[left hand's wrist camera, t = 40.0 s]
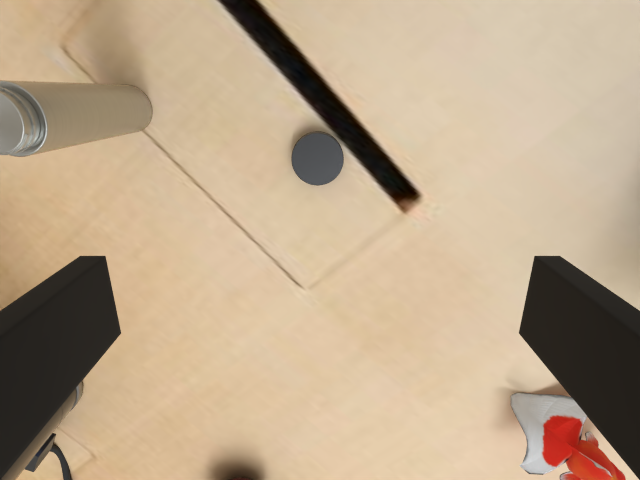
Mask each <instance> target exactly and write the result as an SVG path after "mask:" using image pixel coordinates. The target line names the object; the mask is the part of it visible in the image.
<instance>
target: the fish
mask: <svg viewBox="0 0 640 480" xmlns="http://www.w3.org/2000/svg"><path fill="white" fill-rule="evenodd" d="M511 407H512V409H513V411H514V413H515V415H516V417H517V419H518V421H519V423H520V425H521V427H522V429H523V431H524V433H525V435H526V439H527V451H526V455H525V458H524V460H523V463H522V464H521V465H520V467H522V468H523V469H524V470H525V471H526V472H528V473H529V474H542V475H543V474H545V473H548V472H551V471H552V470H554V469H556V468H557V467H559V466H560V465H562V464H563V463H565V462H566V464H567V466H568V468H569V470H570V471H571V472H566V473H563V474H561V475H560V480H625V476H624V474H623V473H622V472H621V471H620V470H618V468H617V467H616V466H615V465H614V464H613V463H612V462H611V461H610V460H609V459H608V458H607V456H606V455H605V454H604V453H603V452H602V451H601V450H600V449H599V448H598V441H597V440H596V438H595V437H594V436H593V434H592V433H591V432H587V433H585V436H586V441H585V440H581V435H582V428H583V424H584V422H585V420H586V418H587V415H586V414H585V413H584V412H583V410H582V409H581V408H580V407H579V406H578V404H577V403H576V402H575V401H574V399H573V398H572V397H567V396H563V395H547V394H528V393H515V394H513V395H511Z"/></svg>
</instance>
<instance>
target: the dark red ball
mask: <svg viewBox="0 0 640 480" xmlns="http://www.w3.org/2000/svg"><path fill="white" fill-rule="evenodd" d="M230 480H251V479H248V478H234V479H230Z"/></svg>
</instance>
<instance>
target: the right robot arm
mask: <svg viewBox="0 0 640 480" xmlns="http://www.w3.org/2000/svg"><path fill="white" fill-rule="evenodd" d="M82 391H83V385H82V381H81V382H80V384H79V385H78V386H77V387H76V389H75V390H74V391H73V392H72V393H71V395H70V396H69V397H68V398H67V399H66V401H65V402H64V403H63V404H62V406H61V407H60V408H59V409H58V410H57V412H56V413H55V414H54V415H53V416H52V418H51V419H50V420H49V421H48V423H47V424H46V425H45V426H44V427H43V429H42V430H41V431H40V432H39V434H38V435H37V436H36V437H35V438H34V440H33V441H32V442H31V443H30V444H29V446H28V447H27V448H26V449H25V451H24V452H23V453H22V454H21V455H20V457H19V458H18V459H17V460H16V461H15V463H14V464H13V465H12V466H11V468H10V469H9V470H8V471H7V472H6V474H5V475H4V476H3V477H2V478H1V480H16V479H17V478H18V476H19V475H20V474H21V473H22V471H23V470H24V469H26V470H29V471H32V472H34V471H35V470H36V468H37V467H38V466H39V464H40V463H41V462H42V460H43V459H44V458H45V456H46V455H47V454H48V452H49V451H51V452H54V453H55V454H56V455H57V456H58V458H59V460H60V463H61V467H62V472H63V479H64V480H71V477H70V470H69V466H68V463H67V461H66V459H65V457H64V455H63V453H62V451H61V450H60V448H59V447H58V446H56V445H53V442H54V439H55V436H56V434H54V433H53V432H54V430H55V429H56V428H57V427H58V426H59V424H60V423H61V422H62V420H63V419H64V418H65V416H66V415H67V414H68V413H69V412H70V411H71V410H72V409H73V408H74V406H75V405H76V404H77V403H78V401H79V400H80V398H81V396H82Z"/></svg>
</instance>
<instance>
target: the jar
mask: <svg viewBox="0 0 640 480" xmlns="http://www.w3.org/2000/svg"><path fill="white" fill-rule="evenodd" d="M151 118H152V107H151V103H150V101H149V99H148V97H147V96H146V95H145V94H144V93H143V92H142V91H141V90H140V89H138V88H136V87H134V86H131V85H117V84H87V83H58V82H28V81H0V155H11V156H17V157H25V156H30V155H34V154H39V153H43V152H48V151H52V150H57V149H61V148H66V147H70V146H75V145H79V144H84V143H88V142H93V141H98V140H102V139H107V138H111V137H116V136H120V135H125V134H129V133H134V132H138V131H141V130H143V129H144V128H146V127H147V126H148V124H149V123H150V121H151Z"/></svg>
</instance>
